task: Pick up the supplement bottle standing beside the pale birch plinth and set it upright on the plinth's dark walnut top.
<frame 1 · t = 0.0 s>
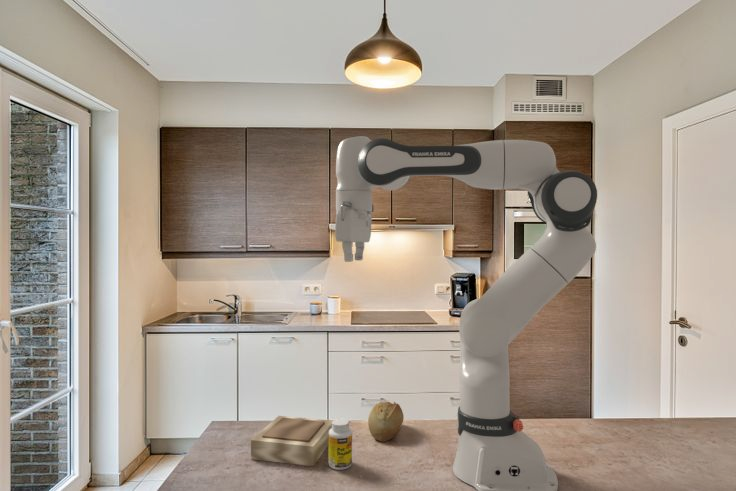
hand: (354, 261, 109), 48 cm above the countertop, tool pointing down, fingers open, 8 cm apart
bread roll: (386, 433, 124), on the countertop
plinth: (294, 447, 115), on the countertop
supplement bottle: (340, 466, 106), on the countertop
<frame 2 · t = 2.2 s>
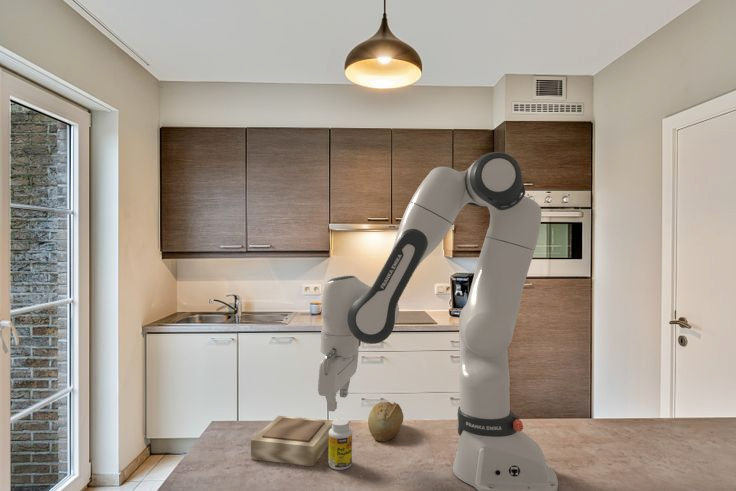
hand: (338, 403, 106), 15 cm above the countertop, tool pointing down, fingers open, 8 cm apart
nothing on the countertop moved.
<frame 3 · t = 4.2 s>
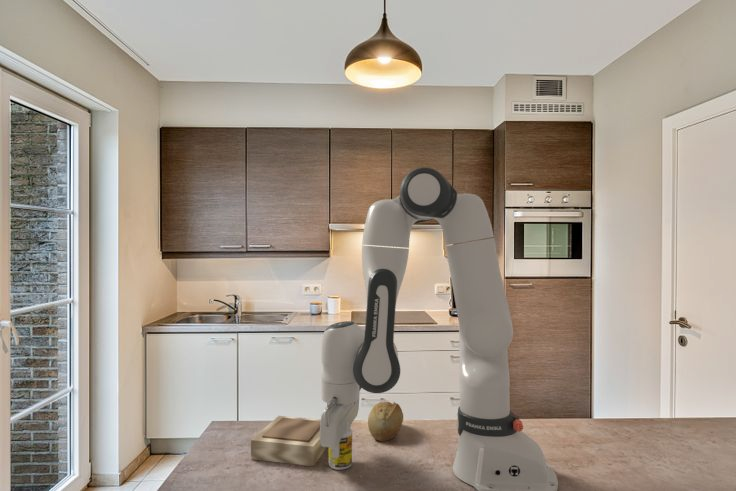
hand: (340, 449, 106), 4 cm above the countertop, tool pointing down, fingers closed on supplement bottle, 6 cm apart
supplement bottle: (340, 465, 106), on the countertop, touching gripper
everything else where it was.
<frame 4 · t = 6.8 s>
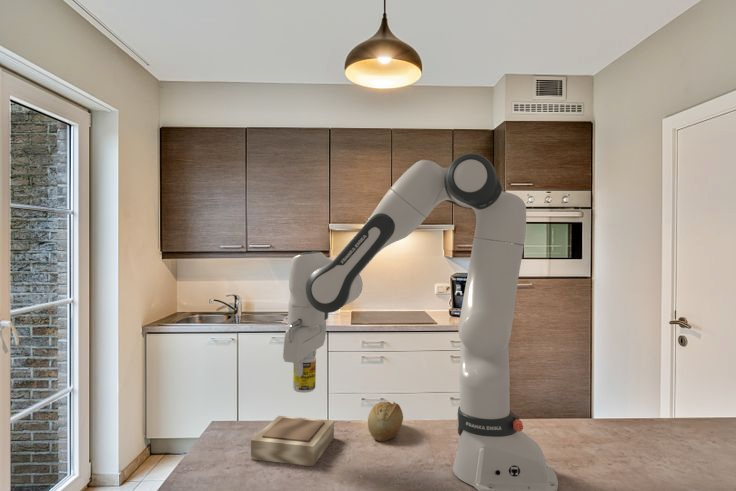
hand: (304, 371, 112), 20 cm above the countertop, tool pointing down, fingers closed on supplement bottle, 6 cm apart
supplement bottle: (304, 390, 112), point 16 cm above the countertop, touching gripper
everything else where it was.
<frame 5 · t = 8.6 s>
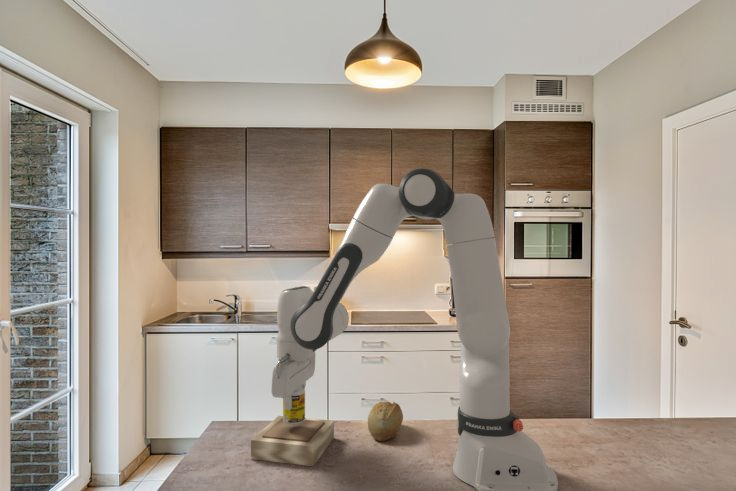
hand: (294, 403, 115), 11 cm above the countertop, tool pointing down, fingers closed on supplement bottle, 6 cm apart
supplement bottle: (294, 422, 115), point 7 cm above the countertop, touching gripper
everything else where it was.
when the fingers open (10 cm above the countertop, at t = 9.8 s): supplement bottle stays where it is, resting on plinth.
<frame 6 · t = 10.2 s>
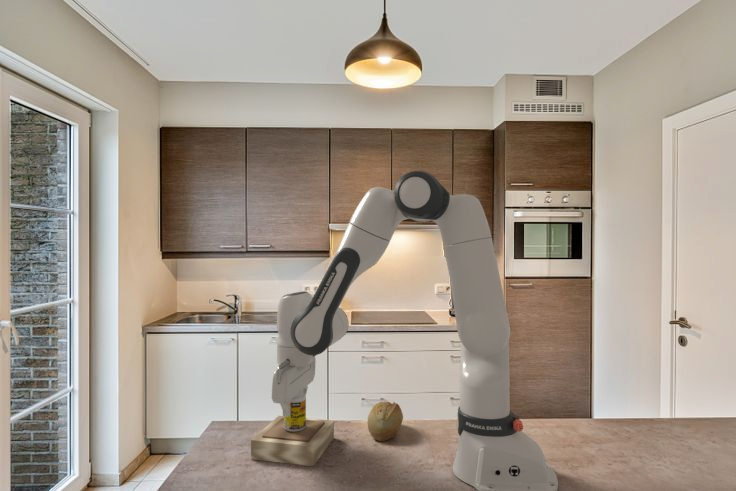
hand: (294, 409, 115), 10 cm above the countertop, tool pointing down, fingers open, 8 cm apart
supplement bottle: (295, 429, 115), point 5 cm above the countertop, touching plinth
everything else where it was.
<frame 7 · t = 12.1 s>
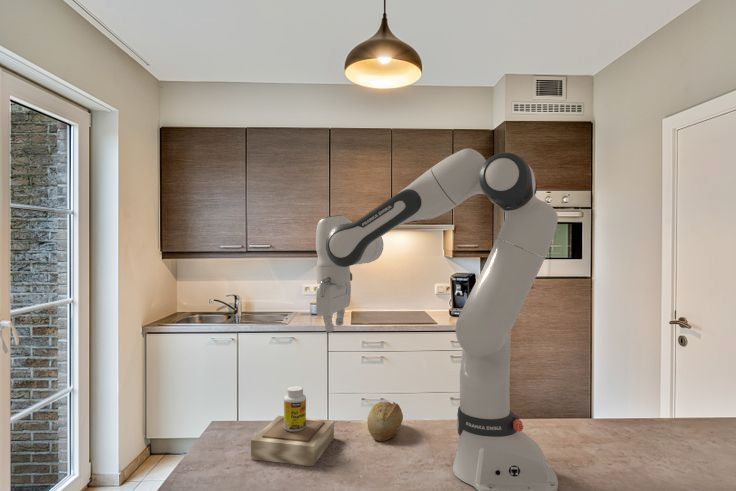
hand: (334, 328, 120), 30 cm above the countertop, tool pointing down, fingers open, 8 cm apart
nothing on the countertop moved.
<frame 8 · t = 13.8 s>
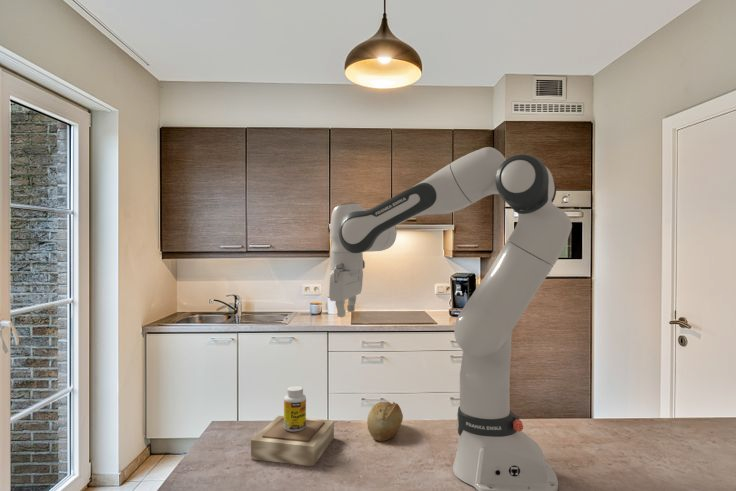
hand: (346, 314, 122), 33 cm above the countertop, tool pointing down, fingers open, 8 cm apart
nothing on the countertop moved.
at the end: supplement bottle inside the target area on the plinth (0.1 cm from its centre), point 4.8 cm above the plinth's base; supplement bottle tilted 0°; the gripper is holding nothing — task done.
